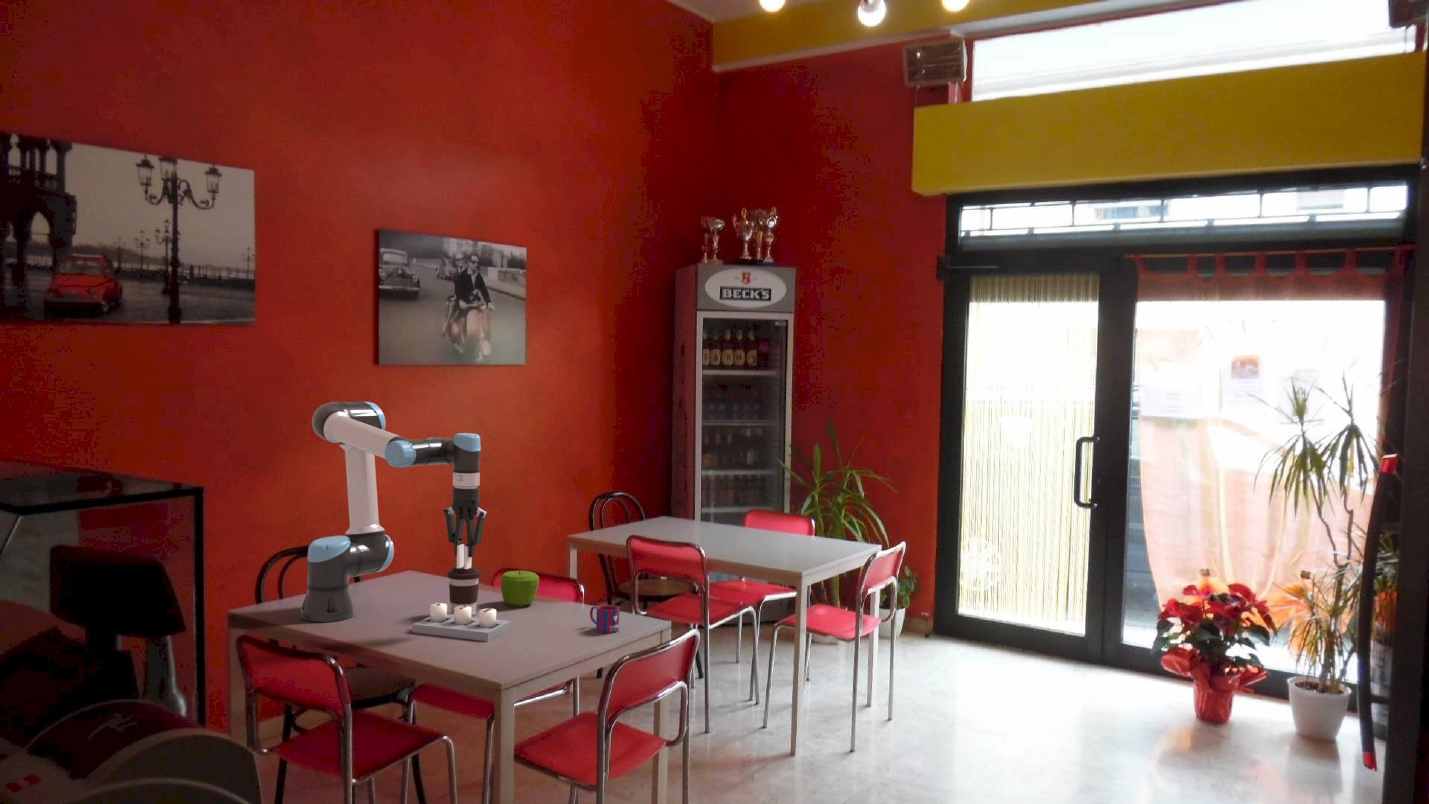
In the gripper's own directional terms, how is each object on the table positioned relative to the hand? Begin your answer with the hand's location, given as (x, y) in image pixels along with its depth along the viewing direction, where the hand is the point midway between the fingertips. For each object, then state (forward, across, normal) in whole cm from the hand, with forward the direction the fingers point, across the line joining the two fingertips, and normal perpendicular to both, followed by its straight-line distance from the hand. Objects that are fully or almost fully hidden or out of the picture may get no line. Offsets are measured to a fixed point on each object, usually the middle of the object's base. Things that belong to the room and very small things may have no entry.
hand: (464, 567), depth 283 cm
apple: (+19, 0, +35) cm, 39 cm away
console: (+18, 0, 0) cm, 18 cm away
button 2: (+16, 0, 0) cm, 16 cm away
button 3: (+16, +8, 0) cm, 18 cm away
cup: (+19, +37, +17) cm, 45 cm away
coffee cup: (+19, -9, +16) cm, 26 cm away
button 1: (+16, -8, 0) cm, 18 cm away
